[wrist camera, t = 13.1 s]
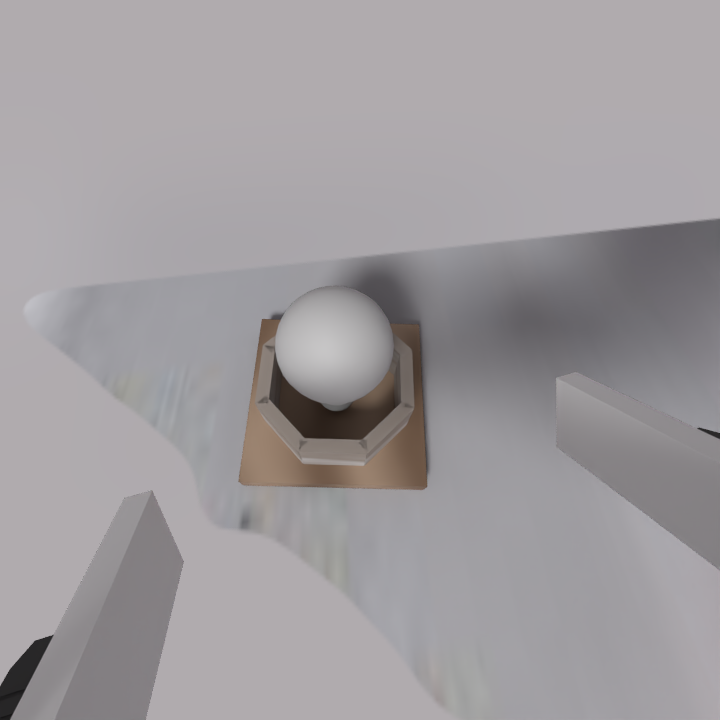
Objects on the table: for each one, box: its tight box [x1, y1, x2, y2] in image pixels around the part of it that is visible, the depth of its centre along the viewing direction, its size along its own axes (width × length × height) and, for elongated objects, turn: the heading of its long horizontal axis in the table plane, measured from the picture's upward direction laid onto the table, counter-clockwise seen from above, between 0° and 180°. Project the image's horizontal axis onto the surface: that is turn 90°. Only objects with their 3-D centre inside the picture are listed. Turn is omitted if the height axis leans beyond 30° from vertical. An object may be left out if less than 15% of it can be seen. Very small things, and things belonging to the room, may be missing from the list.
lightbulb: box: [275, 286, 394, 411], centre depth 23 cm, size 6×6×11 cm
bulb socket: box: [238, 319, 427, 490], centre depth 27 cm, size 12×12×5 cm
